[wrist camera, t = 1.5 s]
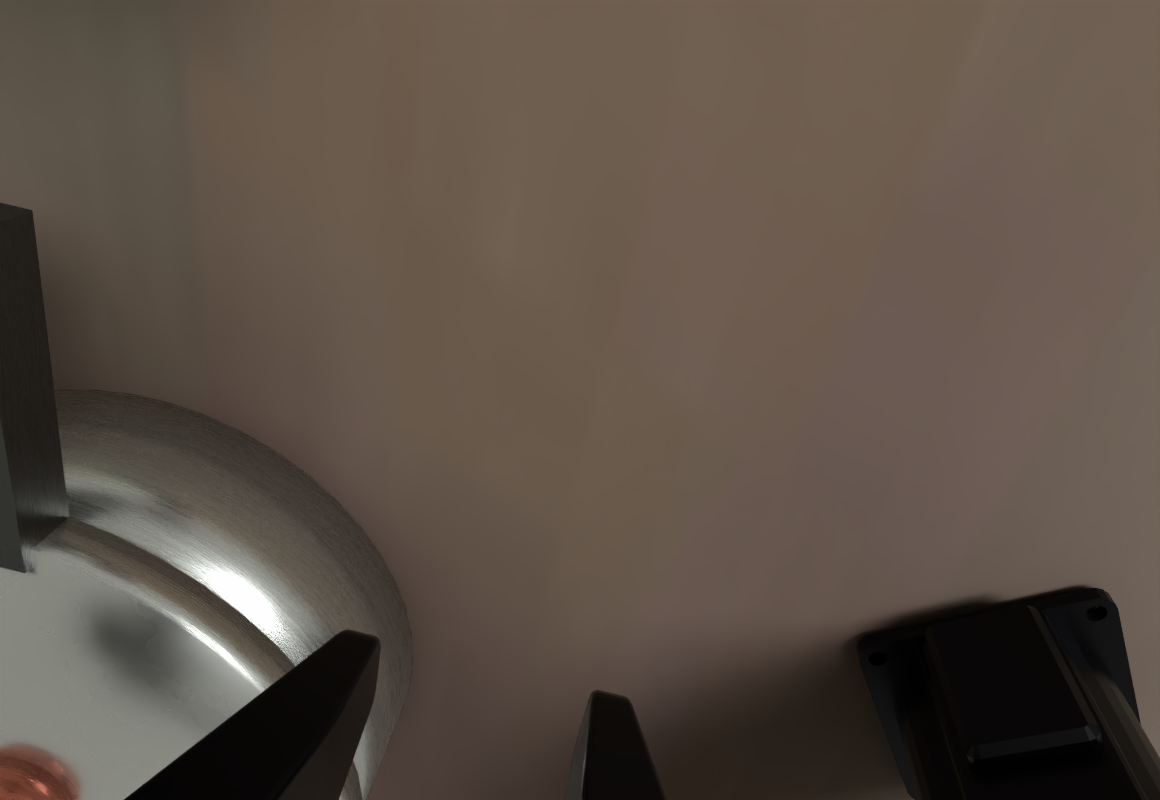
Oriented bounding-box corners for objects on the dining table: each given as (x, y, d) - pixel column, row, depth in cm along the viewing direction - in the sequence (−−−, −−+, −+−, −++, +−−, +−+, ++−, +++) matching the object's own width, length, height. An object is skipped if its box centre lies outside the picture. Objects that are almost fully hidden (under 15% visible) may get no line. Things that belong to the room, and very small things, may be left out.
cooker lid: (343, 993, 26) (311, 1085, 24) (-176, 863, 26) (-253, 943, 24) (426, 304, 14) (381, 363, 12) (-488, 85, 15) (-687, 107, 13)
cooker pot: (498, 740, 27) (461, 891, 23) (127, 816, 32) (36, 955, 27) (59, 53, 18) (-140, 82, 14) (-365, 295, 23) (-615, 374, 19)
